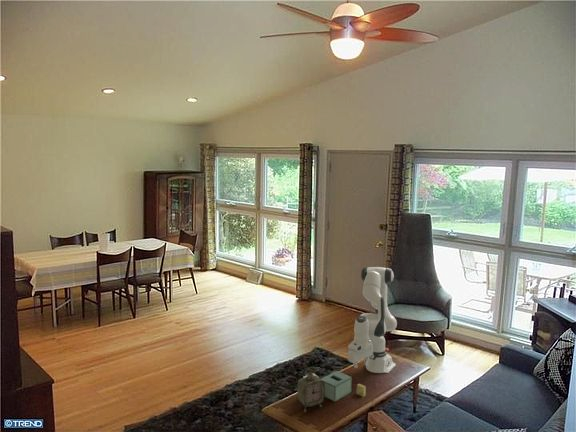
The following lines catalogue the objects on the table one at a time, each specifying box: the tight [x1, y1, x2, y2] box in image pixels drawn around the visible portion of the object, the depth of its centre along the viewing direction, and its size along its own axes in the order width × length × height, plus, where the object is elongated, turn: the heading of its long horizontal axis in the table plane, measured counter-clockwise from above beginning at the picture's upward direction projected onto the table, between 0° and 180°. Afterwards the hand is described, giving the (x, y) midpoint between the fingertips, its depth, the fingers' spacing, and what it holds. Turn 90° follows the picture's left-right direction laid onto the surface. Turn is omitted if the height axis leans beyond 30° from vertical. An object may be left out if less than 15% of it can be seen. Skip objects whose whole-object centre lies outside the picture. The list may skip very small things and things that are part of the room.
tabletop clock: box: [296, 366, 326, 413], centre depth 264 cm, size 14×9×25 cm, turn 119°
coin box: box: [320, 370, 353, 403], centre depth 281 cm, size 16×12×10 cm
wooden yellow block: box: [356, 383, 367, 398], centre depth 280 cm, size 2×5×6 cm, turn 44°
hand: (360, 365), depth 278 cm, fingers open, 8 cm apart
